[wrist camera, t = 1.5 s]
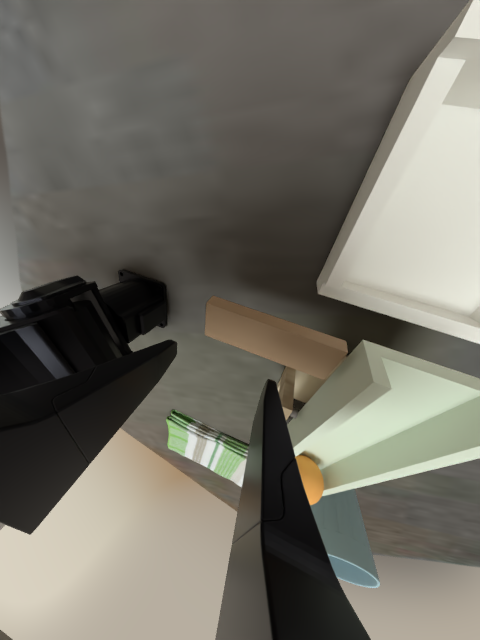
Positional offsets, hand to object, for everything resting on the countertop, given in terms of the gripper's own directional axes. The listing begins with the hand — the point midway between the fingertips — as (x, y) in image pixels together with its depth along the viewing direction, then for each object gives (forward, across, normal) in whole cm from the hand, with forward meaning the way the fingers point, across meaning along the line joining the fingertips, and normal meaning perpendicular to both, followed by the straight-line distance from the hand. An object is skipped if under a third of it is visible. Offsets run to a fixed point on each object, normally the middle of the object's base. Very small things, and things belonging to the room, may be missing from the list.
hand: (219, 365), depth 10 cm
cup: (+11, -18, +25) cm, 33 cm away
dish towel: (+12, -1, +38) cm, 40 cm away
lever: (+5, -6, +8) cm, 11 cm away
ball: (+4, -10, +15) cm, 19 cm away
